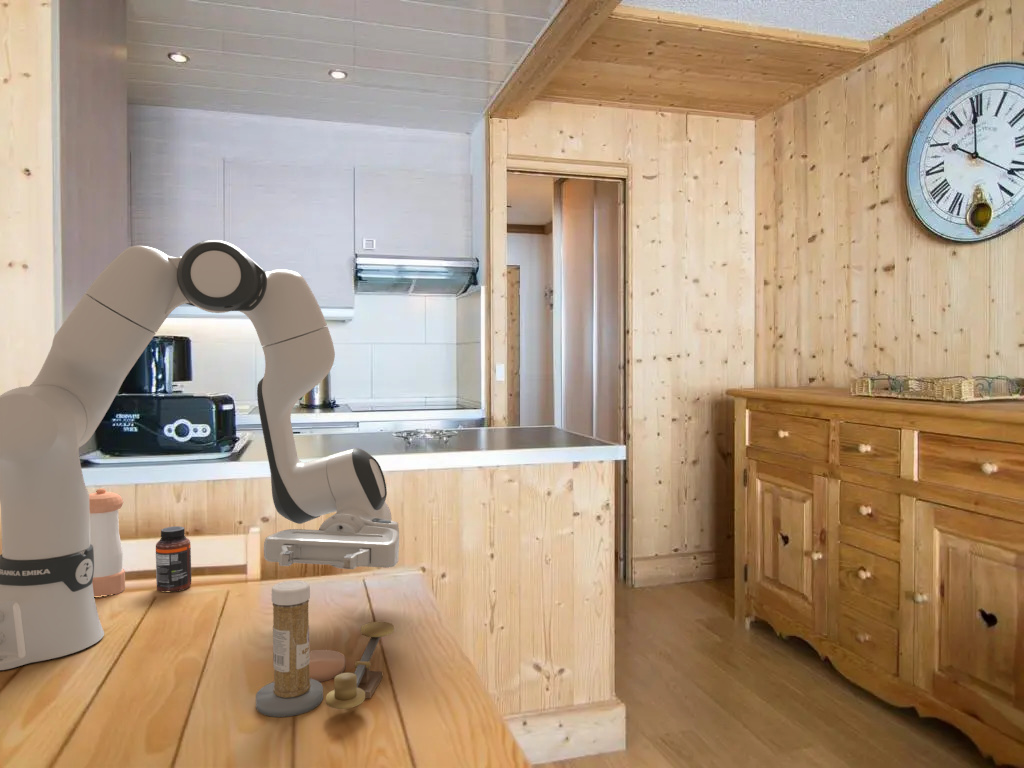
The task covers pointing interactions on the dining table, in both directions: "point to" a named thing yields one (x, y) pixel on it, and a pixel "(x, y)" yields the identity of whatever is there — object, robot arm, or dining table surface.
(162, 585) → the supplement bottle
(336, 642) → the dining table surface
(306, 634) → the spice jar
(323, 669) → the peach oval pebble
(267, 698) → the grey oval pebble
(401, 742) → the dining table surface
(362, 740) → the dining table surface
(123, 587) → the pepper shaker
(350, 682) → the balance
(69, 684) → the dining table surface
